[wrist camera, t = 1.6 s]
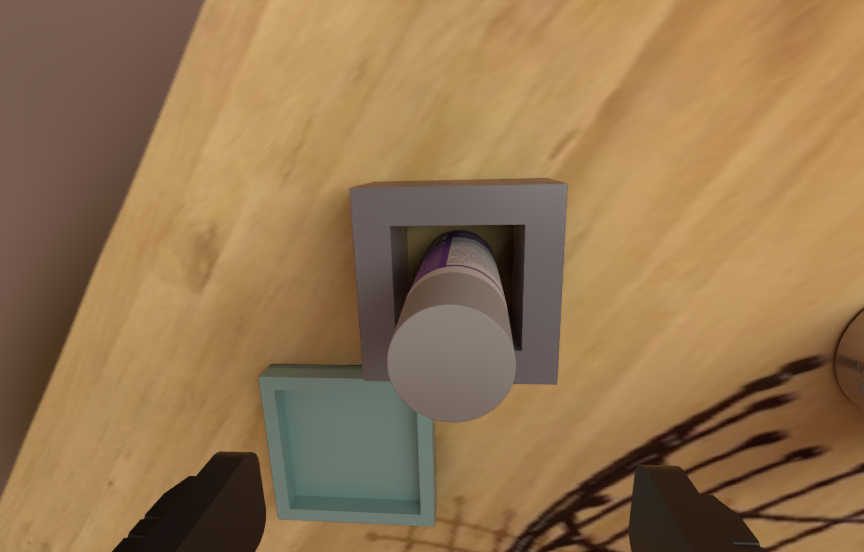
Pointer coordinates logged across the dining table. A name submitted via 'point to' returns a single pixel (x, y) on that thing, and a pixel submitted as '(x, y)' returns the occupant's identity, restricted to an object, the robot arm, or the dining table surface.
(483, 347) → the container
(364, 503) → the tray
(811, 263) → the dining table surface
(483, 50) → the dining table surface
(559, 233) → the bay
